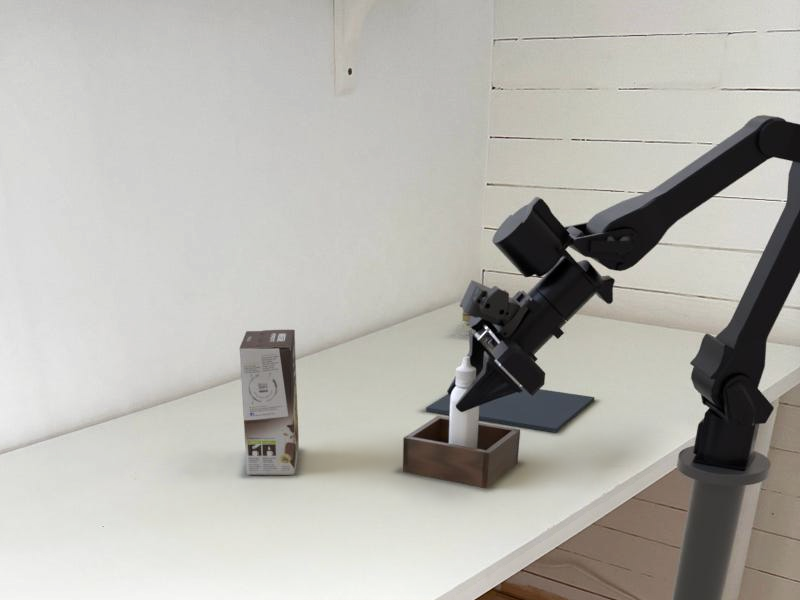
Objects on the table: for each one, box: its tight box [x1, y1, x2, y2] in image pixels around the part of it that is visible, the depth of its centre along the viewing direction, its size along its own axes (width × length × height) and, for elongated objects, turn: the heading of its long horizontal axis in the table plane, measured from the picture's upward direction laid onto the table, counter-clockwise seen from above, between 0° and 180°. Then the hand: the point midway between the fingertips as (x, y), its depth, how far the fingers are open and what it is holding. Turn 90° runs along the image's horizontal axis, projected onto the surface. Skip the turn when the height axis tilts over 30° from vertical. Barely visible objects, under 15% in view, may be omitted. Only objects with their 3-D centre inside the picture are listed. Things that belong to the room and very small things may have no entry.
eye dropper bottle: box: [448, 355, 480, 449], centre depth 122 cm, size 4×6×12 cm
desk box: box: [402, 415, 521, 489], centre depth 125 cm, size 12×10×4 cm
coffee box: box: [239, 329, 300, 476], centre depth 125 cm, size 9×6×16 cm
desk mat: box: [425, 385, 595, 433], centre depth 146 cm, size 20×16×1 cm
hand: (453, 401), depth 121 cm, fingers closed on eye dropper bottle, 5 cm apart
